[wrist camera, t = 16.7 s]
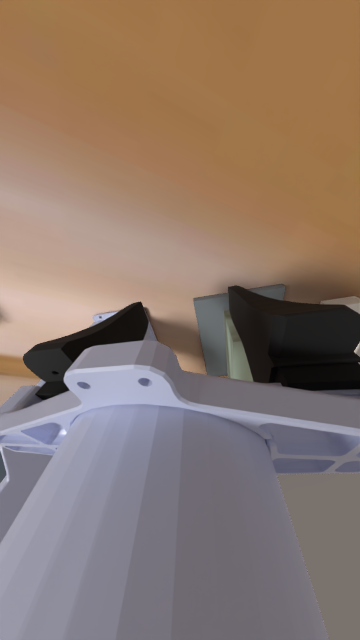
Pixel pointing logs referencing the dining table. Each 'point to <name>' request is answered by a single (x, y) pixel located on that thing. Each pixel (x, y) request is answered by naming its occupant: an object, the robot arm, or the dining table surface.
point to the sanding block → (235, 351)
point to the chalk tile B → (346, 302)
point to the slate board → (221, 325)
